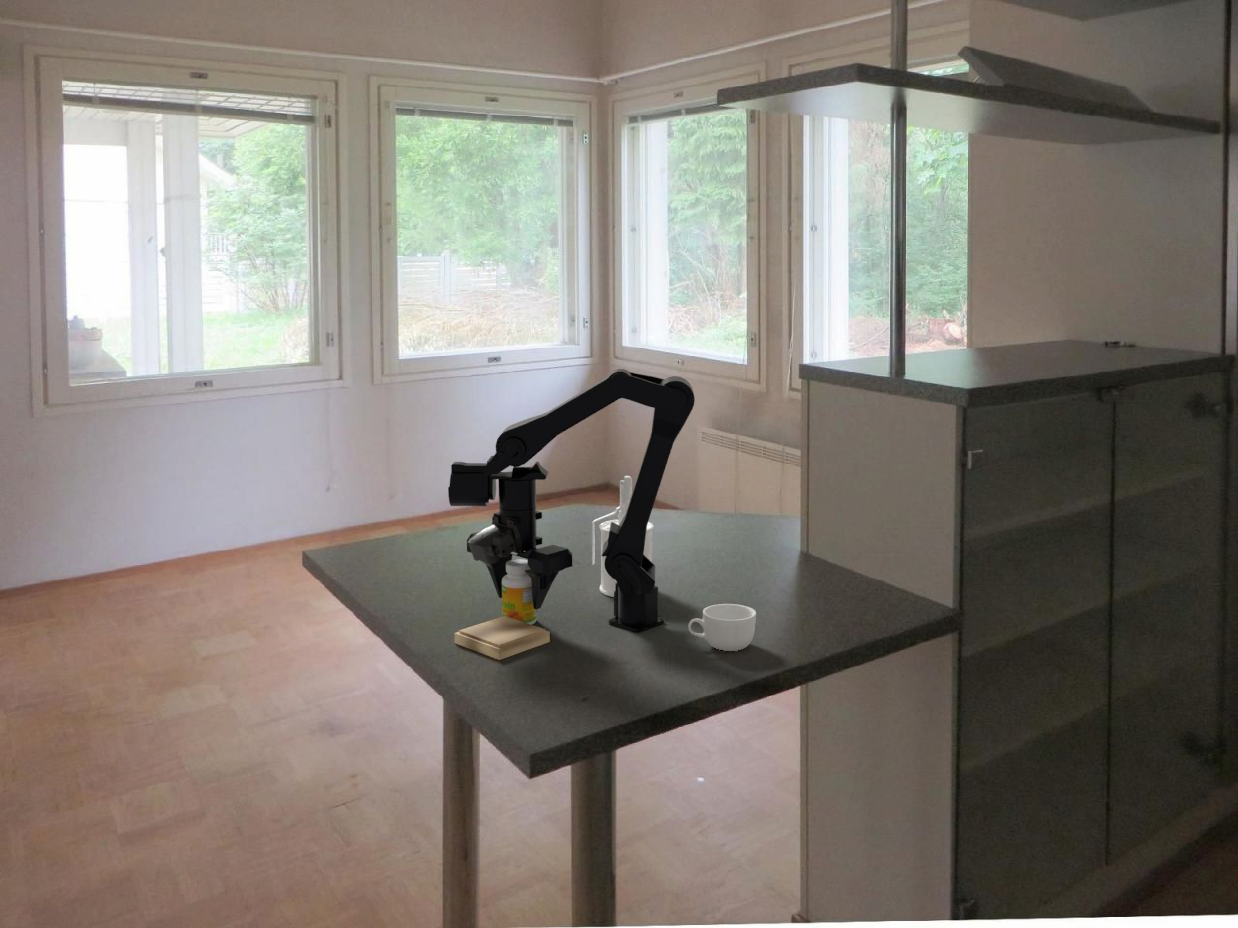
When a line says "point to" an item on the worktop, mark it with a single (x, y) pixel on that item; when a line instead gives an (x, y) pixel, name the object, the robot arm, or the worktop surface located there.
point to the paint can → (625, 495)
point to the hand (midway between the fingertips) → (519, 603)
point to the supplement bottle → (518, 592)
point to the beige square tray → (502, 637)
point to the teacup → (727, 626)
